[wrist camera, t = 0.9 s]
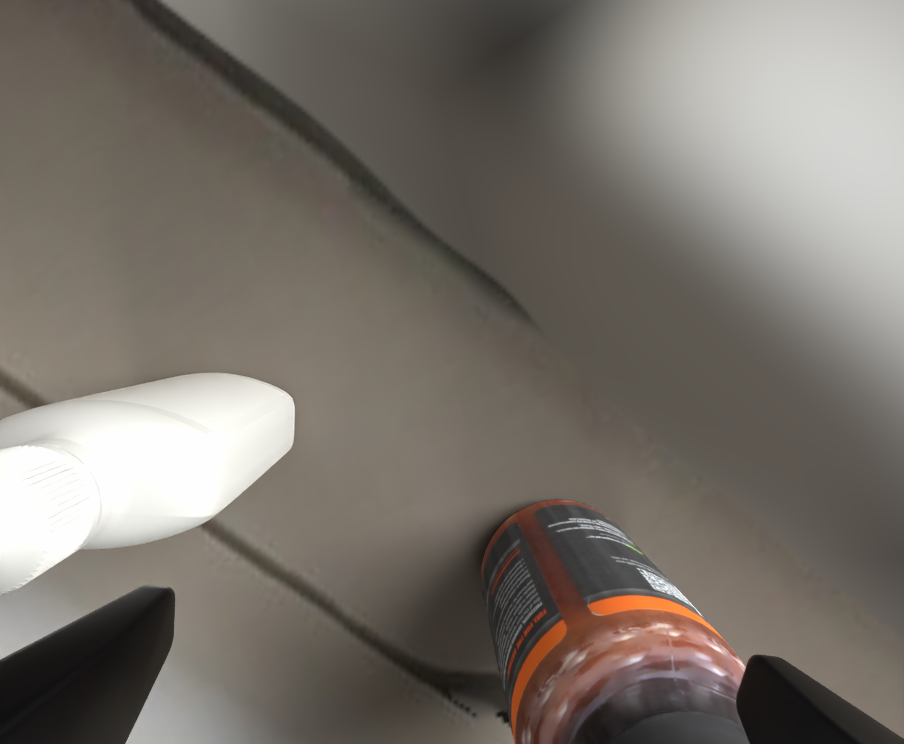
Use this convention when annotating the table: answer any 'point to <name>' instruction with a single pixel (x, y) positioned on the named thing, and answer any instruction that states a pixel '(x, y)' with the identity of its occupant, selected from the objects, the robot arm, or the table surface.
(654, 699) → the supplement bottle
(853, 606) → the table surface
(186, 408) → the eye dropper bottle
